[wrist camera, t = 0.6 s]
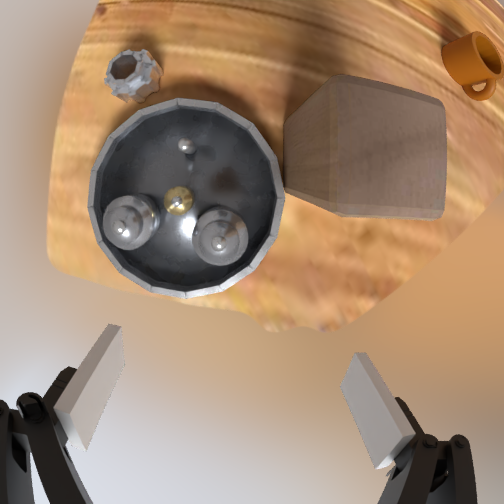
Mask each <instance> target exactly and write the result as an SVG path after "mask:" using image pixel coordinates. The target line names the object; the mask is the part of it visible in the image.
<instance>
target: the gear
mask: <svg viewBox="0 0 504 504" xmlns="http://www.w3.org/2000/svg"><path fill="white" fill-rule="evenodd" d="M132 73H133V74H132ZM106 75H107V76H108V77H107V78H105V79H104V81H105V85H106V86H108V87H110V88H111V89H112V90H113V92H112V93H111V94H112V95H114V96H116V97H118V98H119V99H121V100H123V101H125V102H128V101H129V100H135V101H137V102H138V103H141V102H144V101H145V98H146V97H147V96H148V95H150V94H151V93H152V92H156V93H157V91H158V90H159V88H160V86H159V85H158V83H159V79H160V76H162V75H163V70H162V69H161V67H160V66H159V65H158V63H157V62H156V61H155V60H154V58H153V57H152V56H151V54H150V53H149V52H148V51H147V50H144V49H142V50H141V51H138V52H136V51H131V50H130V49H129V50H126V51H124V52H121V53H119V54H118V55H117V56H116V57H114V58H113V59H112V60H111V61H110V62H109V65H108V69H107V72H106Z"/></svg>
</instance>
